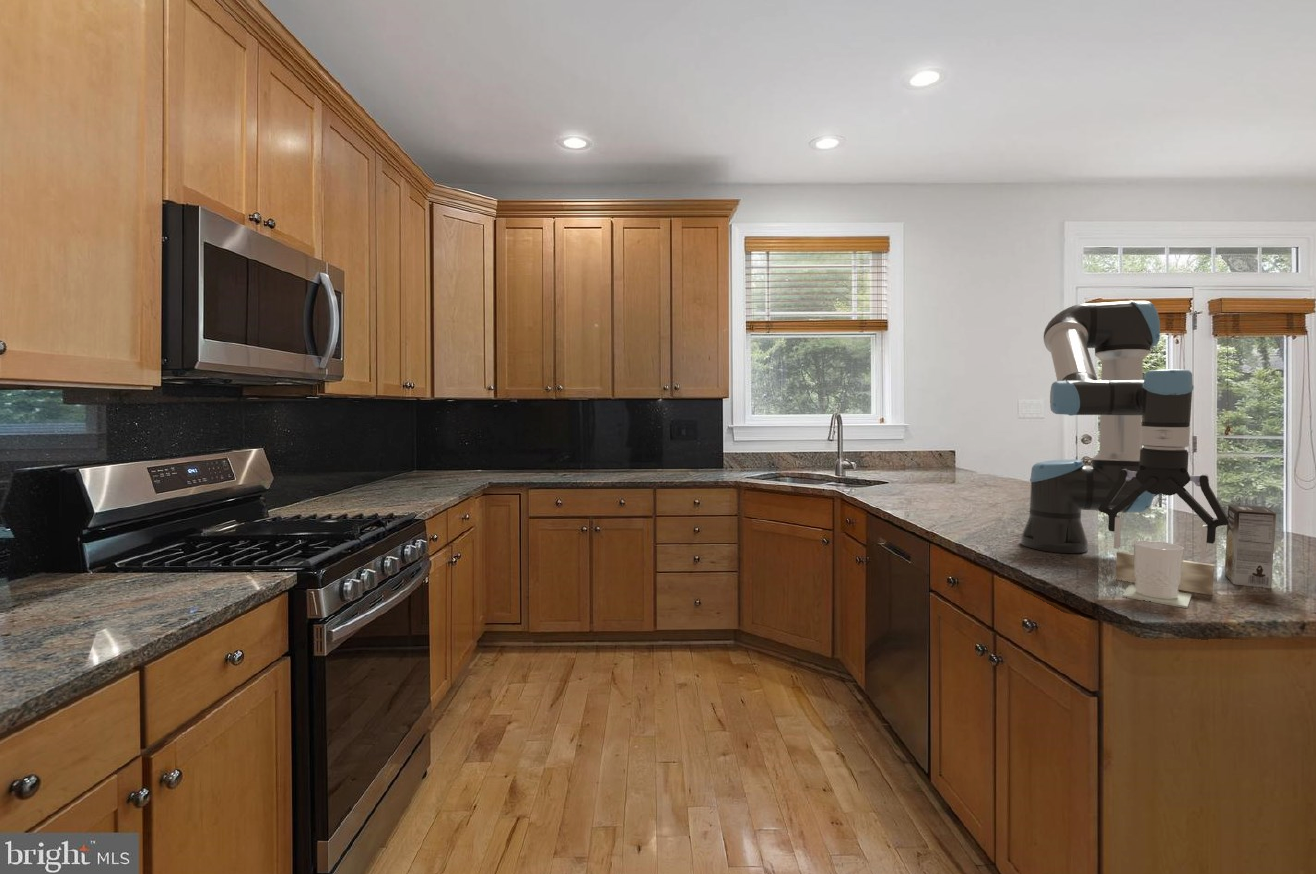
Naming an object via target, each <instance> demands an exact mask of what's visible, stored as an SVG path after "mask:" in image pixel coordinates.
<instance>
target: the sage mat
mask: <svg viewBox="0 0 1316 874" xmlns="http://www.w3.org/2000/svg"><path fill="white" fill-rule="evenodd" d="M1192 594H1193V593H1186V592H1185V593H1184V592H1181V591H1179V593H1178V597H1177V598H1175V599H1161V598H1154V597H1148V596H1145V595H1142V594H1139V593H1137V592H1136V591H1135V584H1132V583H1131V584H1129V585H1128V586H1127V587H1126V589H1125V591H1124V592H1123V594H1122V596H1123V597H1122V598H1126V597H1127V598H1126V599H1133V600H1139V601H1143V600H1145V601H1144V602H1149V601H1151V602H1150V603H1155V604H1162V605H1167V606H1171V607H1172V606H1173V607H1176V608H1177V607H1178V608H1184V609H1188V608H1189V605H1190V601H1191V598H1192V596H1193V595H1192Z"/></svg>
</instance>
